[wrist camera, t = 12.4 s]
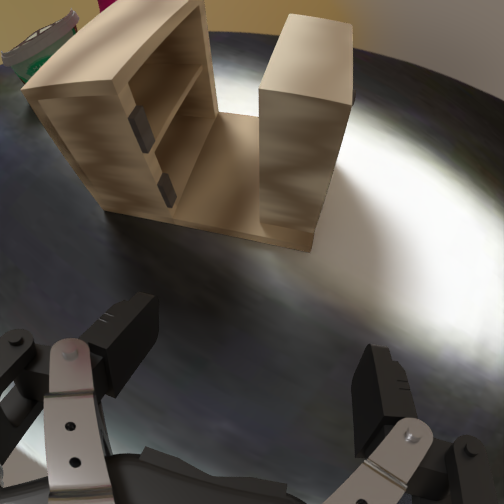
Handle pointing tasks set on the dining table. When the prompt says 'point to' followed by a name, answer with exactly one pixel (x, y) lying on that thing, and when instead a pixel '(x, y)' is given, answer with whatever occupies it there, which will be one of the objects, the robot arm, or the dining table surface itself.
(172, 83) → the cabinet
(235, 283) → the dining table surface
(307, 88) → the door
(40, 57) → the food container
